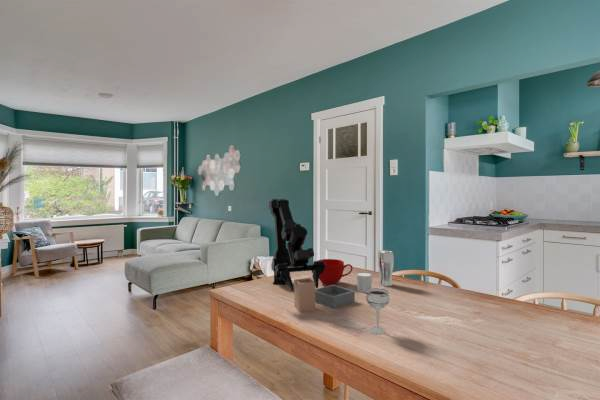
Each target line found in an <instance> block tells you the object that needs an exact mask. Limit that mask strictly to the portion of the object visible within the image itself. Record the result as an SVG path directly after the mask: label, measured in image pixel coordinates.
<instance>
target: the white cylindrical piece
mask: <svg viewBox="0 0 600 400" xmlns="http://www.w3.org/2000/svg"><path fill="white" fill-rule="evenodd" d="M355 278H356V287H357V288H356V289H357V292H359V293H365V294H366V293H367V290H368V289H371V288H372V283H373V274H372V273H369V272H357V273H356V275H355ZM367 294H368V293H367Z"/></svg>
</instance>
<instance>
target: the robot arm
mask: <svg viewBox="0 0 600 400" xmlns="http://www.w3.org/2000/svg"><path fill="white" fill-rule="evenodd" d="M268 207H269V209H270V214H271V215H272V217H273V218H274V230H275V231H274V232H275V244H276V246H275V247H276V250H275V251H274V253H273V257H272V261H271V265H270V266H271V270H272V271H273V282H272V284H273V285H285V286H286V285H287V287H289V289H290V290H291V291H292V292H294V284H293V283H294V282H293V280H292V277H291V273H295V272H297V273H298V272H310V271H311V273H312V276H311V277H312V280H313V281H314V282H315V289H319V281H320V280H319V276H320V274H322V273H323V271H324V269H325V267H326V265H325V262H324V261H318V260H314V261H313V263H312V264H309V265H308V263H309V262H310V261H309V259H311V258H313V257H315V252H314V248H313V247H309V248H307V249H303V245H304V244H305V242H306V241H305V240H306V238H307V236H308V230H307V229H306V228H305V227H304V226H301V224H300V223H296V222H295V221H294V219H293V215H292V211H291V208H290V202H289V200H288V199H287V198H286V199H285V198H272V199H271V200H270V201H269V203H268Z"/></svg>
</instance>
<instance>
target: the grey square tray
mask: <svg viewBox="0 0 600 400" xmlns="http://www.w3.org/2000/svg"><path fill="white" fill-rule="evenodd" d="M355 295H356V292H355V290H353V289H350V288H346V287H342V286H339V285H337V284H336V285H325V286H322V287H320V288H319V287H318V288H317V289H316V288H315V303H318V304H320V305H323V306H326V307H329V308H332V309H336V308H339V307H341V306H345V305H348V304H351V303H355V300H356V299H355Z"/></svg>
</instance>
